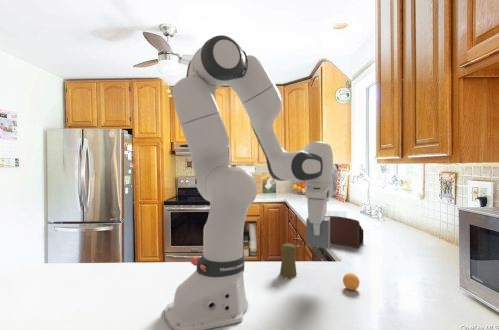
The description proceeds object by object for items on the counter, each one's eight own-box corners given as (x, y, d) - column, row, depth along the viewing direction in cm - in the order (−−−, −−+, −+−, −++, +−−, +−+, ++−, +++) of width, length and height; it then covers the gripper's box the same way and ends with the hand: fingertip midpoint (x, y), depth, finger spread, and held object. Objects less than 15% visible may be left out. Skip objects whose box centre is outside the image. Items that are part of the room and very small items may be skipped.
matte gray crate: (306, 245, 89) (306, 218, 89) (309, 240, 95) (309, 215, 95) (328, 248, 86) (328, 220, 86) (329, 242, 93) (330, 216, 93)
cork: (296, 279, 94) (297, 247, 94) (279, 277, 95) (279, 246, 95) (297, 272, 100) (297, 242, 100) (280, 270, 101) (281, 241, 101)
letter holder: (358, 248, 130) (359, 219, 130) (318, 241, 141) (319, 214, 141) (363, 243, 138) (364, 216, 138) (325, 237, 149) (325, 211, 149)
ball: (352, 294, 83) (352, 278, 83) (339, 287, 88) (339, 272, 88) (362, 290, 86) (362, 274, 86) (349, 284, 90) (349, 269, 90)
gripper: (313, 187, 101) (312, 224, 101) (304, 193, 82) (304, 238, 82) (330, 188, 99) (330, 225, 99) (326, 194, 80) (325, 240, 80)
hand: (318, 231), depth 91 cm, fingers closed on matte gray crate, 7 cm apart
